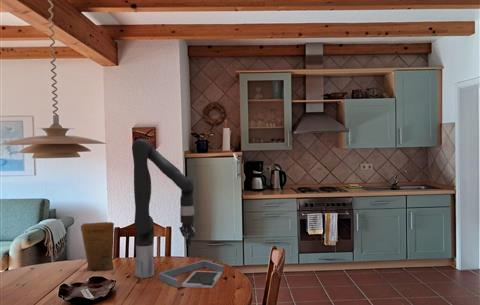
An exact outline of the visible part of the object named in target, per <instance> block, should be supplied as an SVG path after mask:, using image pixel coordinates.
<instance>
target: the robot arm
mask: <svg viewBox="0 0 480 305" xmlns="http://www.w3.org/2000/svg"><path fill="white" fill-rule="evenodd" d="M131 151H132V158H133V193H134V195H133V196H134V206H135V208H134V211H135V212H134V222H133V225H134V229H135V231H136V240H135V250H136V251H135V253H136V255H135V256H136V258H134V273H135V274H134V276H135V277H137V278H139V279H146V278H151V277H153V276H154V275H155V262H154V261H155V259H154V258H155V257H154V256H155V255H154V236H155V233H154V232H155V231H154V230H155V227H154V224H155V223H154V219H153V217H152V216H151V215H150V202H151V196H152V178H151V174H150V169H149V167H148V165H149V164H148V160H149V161H151V162H152V163H153V164H154V165H155V166H156V167H157V168H158V169H159V171H160V172H161V173H162V174H163V175H165V176H166V177H167V178H168V179H169V180H171V181H172V182H173V183H174V184H175V185H176V186H177V187H178V188H179V189H180V190H181V192H180V193H181V194H180V199H179V200H180V202H179V204H180V206H179V207H180V210H179V211H180V212H179V213H180V215H179V216H180V223H181V226H180V227H179V228H178V229H179V231H180V234H181V236H182V237H184V240H185V246H191V244H192V243H191V241H192V238H194V236H195V234H196V233H197V229H196V228H194V222H195V207H194V181H193V179H192V178H191V177H189V176H185V175H184V174H183V172H181V170H180V169H179V168H178V167H176V166H175V165H174V164H173V163H171V162H170V161H169V160H168V159H166V158H165V157H164V156H163V155H162V154H161V153H160V152H159V151H158V150H157V149H156V148H155V147H154V145H152V144H151V142H150V141H149V140H147V139H146V138H138V139H136V140H134V141H133V143H132V146H131Z"/></svg>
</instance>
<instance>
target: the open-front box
mask: <svg viewBox="0 0 480 305" xmlns="http://www.w3.org/2000/svg"><path fill="white" fill-rule="evenodd" d="M201 268H208V269H209V270H213V271H215V272H222V273H224V265H222V264H218V263H216V262H212V261H210V260H205V259H204V260H199V261H196V262H193V263H189V264H186V265H182V266H179V267H178V266H177V267H176V268H172V269H169V270H165V271H161V272H158V280H159V281H161V282H163V283H165V284H168V285H171V286H173V287H175V288H179V287H180V282H179V281H180V280H179V279H177V278H175V277H176V276H178V275H182V274H185V273H189V272H192V271H196V270H197V269H198V270H199V269H201Z"/></svg>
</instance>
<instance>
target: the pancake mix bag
mask: <svg viewBox="0 0 480 305" xmlns="http://www.w3.org/2000/svg"><path fill="white" fill-rule="evenodd" d="M114 226H115V223H114V222H111V221H110V222H109V221H107V222H106V221H105V222H92V223H91V222H88V223H87V222H86V223H82V225H80V231H81V236H82V241H83V242H82V243H83V247H84V252H85V257H86V263H87V265H86V266H87V270H88V271H95V272H97V271H102V272H103V271H105V272H106V271H112V270H114V269H115V268H114V262H113V260H114V258H113V257H114V256H113V255H114V235H115V234H114V233H115V232H114V231H115V230H114V229H115V228H114Z"/></svg>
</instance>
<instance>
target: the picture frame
mask: <svg viewBox="0 0 480 305" xmlns="http://www.w3.org/2000/svg"><path fill="white" fill-rule="evenodd" d="M222 274H223V272H219V271H215V270H213V271H212V270H193V272H192V273H191V274H190V275H189V276H188V277H187V278H186V279H185V280H184V281H183V282H182V283H181V287H183V288H185V287H186V288H203V289H205V288H206V289H213V288H214V286H215V285H216V283H217V282H218V280H219V279H220V277H221V276H222Z"/></svg>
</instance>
